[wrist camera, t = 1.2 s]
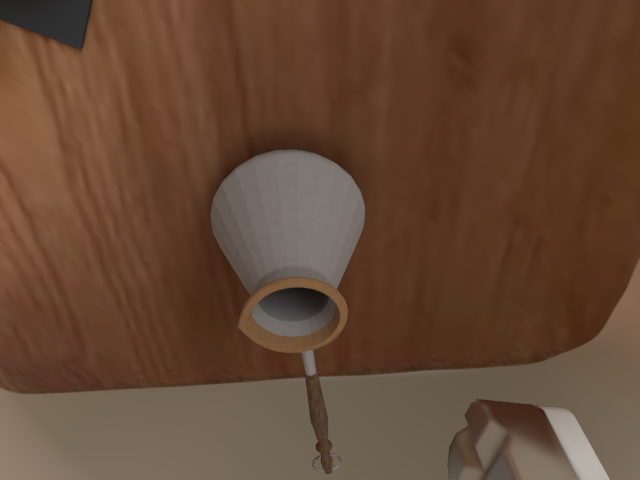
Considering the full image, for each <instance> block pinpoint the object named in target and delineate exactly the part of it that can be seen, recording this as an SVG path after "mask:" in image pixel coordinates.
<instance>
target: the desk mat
mask: <svg viewBox="0 0 640 480" xmlns="http://www.w3.org/2000/svg"><path fill="white" fill-rule="evenodd" d="M91 3H92V0H0V19H1V20H4V21H6V22H9V23H12V24H14V25H17V26H20V27H22V28H25V29H28V30H30V31H33V32H36V33H38V34H41V35H44V36H46V37H49V38H52V39H54V40H57V41H60V42H62V43H65V44H68V45H70V46H73V47H76V48H78V49H82V47H83V43H84V38H85V33H86V28H87V23H88V18H89V13H90V8H91Z"/></svg>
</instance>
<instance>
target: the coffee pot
mask: <svg viewBox="0 0 640 480" xmlns="http://www.w3.org/2000/svg"><path fill="white" fill-rule="evenodd" d="M210 217H211V224H212V230H213V234H214V236H215V238H216V240H217V242H218V244H219V246H220V248H221V250H222V251H223V253H224V254H225V256H226V258H227V259H228V261H229V262H230V264H231V266H232V267H233V269H234V271H235V272H236V274H237V275H238V277H239V279H240V280H241V282H242V283H243V285H244V287H245V288H246V290H247V291H248V293H249V295H250V297H249V299H248V300H247V302H246V303H245V305H244V307H243V309H242V312H241V314H240V317H239V322H238V328H239V329H240V330H241V331H242V332H243V333H244V334H245V335H246V336H248V337H249V338H250V339H252V340H253V341H254V342H256V343H257V344H259V345H261V346H263V347H265V348H267V349H270V350H274V351H277V352H286V353H298V352H301V353H302V357H303V362H304V367H305V372H306V373H305V378H306V386H307V395H308V403H309V410H310V419H311V423H312V426H313V428H314V431H315V434H316V437H317V440H318V443H317V444H316V449H317V451H318V452H320V453H321V455H320V456H318V457H317V458H315V459H314V460H313V463H312V466H313V468H314V469H315V470H317V471H324V472H325V473H326V474H330V473H332V470H334V469H336V468H337V467H339V466H340V465H341V462H342V460H341V458H340V456H338V455H335V454H330V450H331V449H332V443H331V442H330V441H329V440H328V416H327V412H326V408H325V404H324V399H323V395H322V391H321V386H320V382H319V378H318V373H317V371H316V367H315V360H314V353H313V350H314V349H317V348H319V347H322V346H324V345H326V344H328V343H329V342H331V341H332V340H333V339H335V338H336V337H337V336H338V335H339V334H340V332H341V331H342V330H343V328H344V326H345V323H346V321H347V316H348V308H347V305H346V302H345V299H344V298H343V297H342V296H341V294H340V293H339V292H338V291H337V287H338V285H339V283H340V281H341V278H342V276H343V274H344V271H345V269H346V267H347V265H348V262H349V260H350V258H351V256H352V253H353V251H354V249H355V247H356V244H357V242H358V240H359V237H360V235H361V232H362V230H363V227H364V218H365V205H364V201H363V198H362V194H361V191H360V190H359V188H358V187H357V185H356V183H355V182H354V180H353V179H352V177H351V176H350V175H349V174H348V173H347V172H346V171H344V170H343V169H342V168H341V167H340V166H339V165H337V164H336V163H334V162H333V161H331V160H329V159H327V158H324V157H322V156H320V155H318V154H316V153H312V152H307V151H302V150H297V149H290V150H274V151H270V152H267V153H263V154H260V155H256V156H255V157H253V158H251V159H249V160H248V161H246V162H244V163H242V164H240V165H239V166H238V167H236V168H235V169H234V170H233V171H232V172H231V173H230V174H229V175H228V176H227V177H226V178H225V179H224V180H223V181H222V183H221V185H220V187H219V189H218V190H217V192H216V194H215V196H214V198H213V202H212V208H211V213H210ZM331 456H334V457H337V458H339V460H340V462H339V464H338V465H336V466H334V467H333V460H332V457H331ZM320 458H321V464H322V467H323V469H320V468H316V467H315V466H314V463H315V461H317V460H318V459H320Z"/></svg>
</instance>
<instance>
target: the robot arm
mask: <svg viewBox="0 0 640 480" xmlns="http://www.w3.org/2000/svg"><path fill="white" fill-rule="evenodd" d="M465 418H466V420H467V424H468V426H467V427H465V428H464V429H462V430H461V431H459V432H458V433H456V434H455V436H454V438H453V441H452V443H451V445H450V448H449V455H448V464H447V465H448V475H449V480H610V479H609V477H608V476H607V474H606V472H605V470H604V469H603V467H602V465H601V463H600V461H599V459H598V458H597V456H596V454H595V452H594V451H593V449H592V447H591V445H590V443H589V442H588V440H587V438H586V436H585V435H584V433H583V431H582V429H581V427H580V426H579V424H578V422H577V420H576V418H575V417H574V415H573V414H572V413H571V412H570V411H569V410H567V409H566V408H559V407H548V406H539V405H536V406H534V405H530V404H520V403H510V402H500V401H490V400H480V399H477V400H475V401H474V402H473V403H471V404H470V406H469V408H468V410H467V412H466V414H465Z"/></svg>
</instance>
